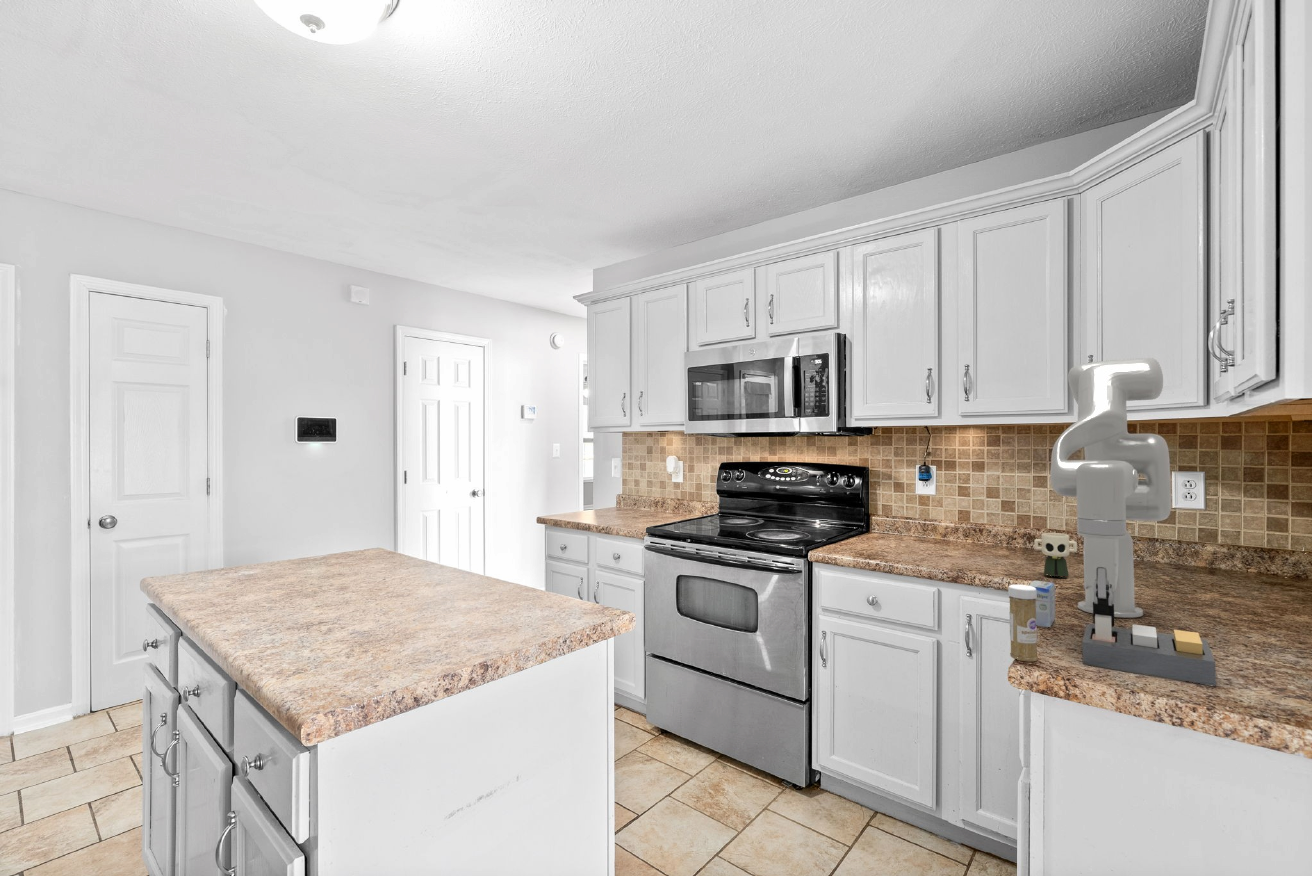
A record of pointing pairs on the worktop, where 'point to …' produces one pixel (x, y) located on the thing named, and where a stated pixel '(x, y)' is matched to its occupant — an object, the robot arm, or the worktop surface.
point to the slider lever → (1103, 628)
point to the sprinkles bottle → (1023, 622)
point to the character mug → (1055, 552)
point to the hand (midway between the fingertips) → (1103, 624)
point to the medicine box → (1044, 603)
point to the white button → (1144, 636)
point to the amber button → (1188, 642)
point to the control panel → (1149, 657)
